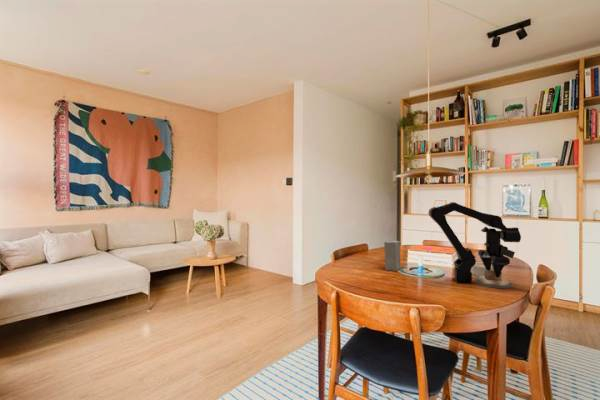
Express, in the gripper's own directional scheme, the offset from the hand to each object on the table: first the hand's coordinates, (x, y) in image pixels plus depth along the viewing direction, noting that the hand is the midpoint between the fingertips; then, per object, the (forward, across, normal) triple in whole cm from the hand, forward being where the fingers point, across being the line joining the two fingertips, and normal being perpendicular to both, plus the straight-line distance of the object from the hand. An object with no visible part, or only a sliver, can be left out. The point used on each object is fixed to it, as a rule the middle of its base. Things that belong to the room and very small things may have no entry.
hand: (492, 274), depth 141 cm
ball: (+1, +16, -2) cm, 16 cm away
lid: (+3, 0, 0) cm, 3 cm away
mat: (+4, 0, 0) cm, 4 cm away
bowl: (+4, +16, -2) cm, 17 cm away
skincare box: (+4, +21, +43) cm, 48 cm away
